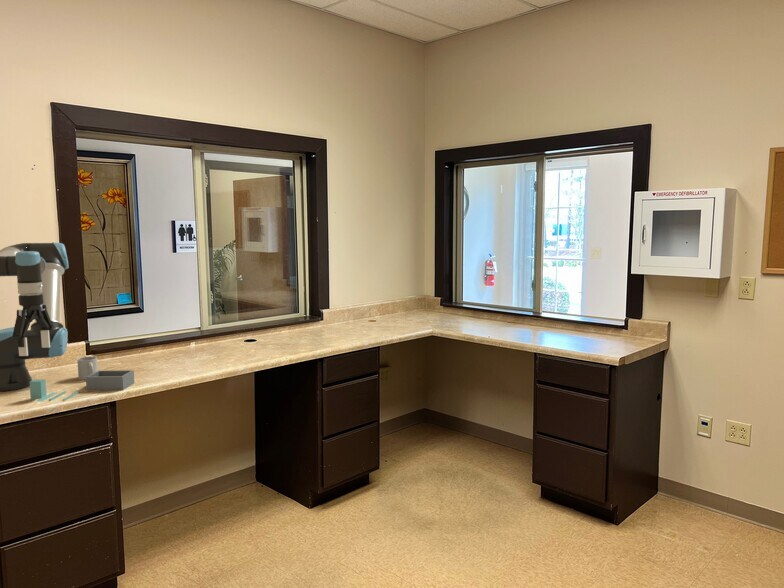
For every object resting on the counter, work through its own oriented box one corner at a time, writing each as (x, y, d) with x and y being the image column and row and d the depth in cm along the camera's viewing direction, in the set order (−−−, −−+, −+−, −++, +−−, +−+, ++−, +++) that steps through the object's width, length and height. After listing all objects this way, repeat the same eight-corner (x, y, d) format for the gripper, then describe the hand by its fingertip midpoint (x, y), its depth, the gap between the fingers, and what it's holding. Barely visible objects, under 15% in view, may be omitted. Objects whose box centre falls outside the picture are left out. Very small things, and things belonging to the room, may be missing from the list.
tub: (86, 392, 217) (85, 377, 216) (99, 385, 227) (98, 370, 226) (123, 392, 217) (122, 376, 217) (134, 384, 227) (133, 370, 227)
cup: (95, 376, 241) (94, 355, 240) (102, 380, 234) (101, 359, 233) (76, 379, 236) (75, 358, 235) (83, 384, 229) (82, 362, 228)
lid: (24, 403, 203) (22, 384, 203) (42, 394, 214) (40, 376, 213) (77, 403, 204) (76, 384, 203) (92, 394, 215) (91, 376, 214)
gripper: (19, 298, 192) (24, 359, 195) (60, 290, 217) (64, 344, 219) (-3, 298, 192) (2, 359, 194) (40, 290, 217) (44, 344, 219)
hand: (35, 351), depth 207 cm, fingers open, 13 cm apart
